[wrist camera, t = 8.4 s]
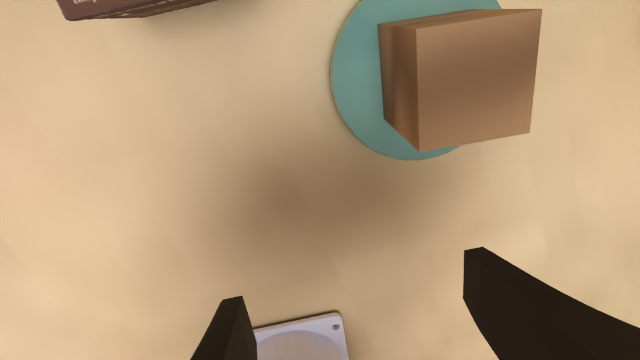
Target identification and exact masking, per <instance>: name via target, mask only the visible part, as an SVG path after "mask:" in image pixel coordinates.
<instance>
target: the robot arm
mask: <svg viewBox="0 0 640 360" xmlns="http://www.w3.org/2000/svg"><path fill="white" fill-rule="evenodd" d="M463 299H464V301H465V303H466V305H467V307H468V309H469V311H470V313H471V315H472V317H473V319H474V321H475V323H476V325H477V327H478V328H479V330H480V332H481V333H482V335H483V336H484V338H485V339H486V341H487V342H488V344H489V345H490V347H491V348H492V350H493V351H494V353H495V354H496V356H497V357H498V358H499V360H640V328H638V327H636V326H633V325H631V324H628V323H626V322H623V321H621V320H619V319H617V318H614V317H612V316H610V315H607V314H605V313H603V312H601V311H598V310H596V309H594V308H592V307H590V306H588V305H586V304H584V303H582V302H580V301H578V300H576V299H574V298H572V297H570V296H568V295H566V294H564V293H562V292H560V291H558V290H557V289H555V288H553V287H551V286H549V285H547V284H546V283H544V282H542V281H540V280H538V279H537V278H535V277H533V276H531V275H530V274H528V273H526V272H525V271H523V270H521V269H519V268H518V267H516V266H514V265H513V264H511V263H509V262H508V261H506V260H504V259H503V258H501V257H499V256H498V255H496V254H494V253H493V252H491V251H489V250H487V249H486V248H484V247H479V248H474V249H469V250H464V284H463ZM335 324H338V325H336V326H333V325H335ZM190 360H349V358H348V352H347V346H346V340H345V334H344V328H343V323H342V318H341V315H340V314H339V313H329V314H324V315H320V316H315V317H310V318H306V319H301V320H296V321H292V322H287V323H282V324H277V325H273V326H268V327H263V328H259V329H254V330H253V328H252V325H251V322H250V319H249V316H248V312H247V309H246V306H245V303H244V300H243V297H242V296H238V297H234V298H229V299H224V300H222V302H221V303H220V305H219V307H218V309H217V311H216V313H215V315H214V317H213V319H212V321H211V323H210V325H209V327H208V329H207V330H206V332H205V334H204V336H203V338H202V340H201V342H200V343H199V345H198V347H197V349H196V350H195V352H194V354H193V356H192V358H191V359H190Z"/></svg>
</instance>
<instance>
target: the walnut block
mask: <svg viewBox="0 0 640 360" xmlns="http://www.w3.org/2000/svg"><path fill="white" fill-rule="evenodd" d="M541 16H542V9H470V10H463V11H457V12H451V13H444V14H438V15H432V16H425V17H419V18H413V19H406V20H400V21H394V22H387V23H381V24H377V27H378V42H379V57H380V71H381V86H382V101H383V115H384V120H385V121H387V122H388V123H389V124H390V125H391V126H392V127H393V128H394V129H395V130H396V131H397V132H398V133H399V134H400V135H401V136H403V137H404V138H405V139H406V140H407V141H408V142H409V143H410V144H411V145H412V146H413V147H414V148H415V149H416V150H417V151H419V152H425V151H430V150H436V149H441V148H447V147H452V146H458V145H464V144H469V143H475V142H480V141H486V140H492V139H497V138H503V137H508V136H514V135H520V134H525V133H530V123H531V113H532V104H533V94H534V84H535V74H536V64H537V55H538V45H539V35H540V25H541Z"/></svg>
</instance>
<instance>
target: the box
mask: <svg viewBox="0 0 640 360" xmlns="http://www.w3.org/2000/svg"><path fill="white" fill-rule="evenodd" d="M56 1H57V3H58V5H59V7H60V9H61V11H62V14H63V16H64V18H65V19H66V20H69V21H79V20H84V19H105V18H135V17H136V18H137V17H140V18H142V17H148V16H152V15H156V14H161V13H164V12H169V11H173V10H179V9H183V8H188V7H191V6H197V5H201V4H204V3H207V2H212V1H216V0H56Z"/></svg>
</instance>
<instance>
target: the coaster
mask: <svg viewBox="0 0 640 360" xmlns="http://www.w3.org/2000/svg"><path fill="white" fill-rule="evenodd" d="M470 9H502V8H501V7H500V5H499V3H498V2H497V0H360V1H359V2H358V3H357V4H356V5H355V6H354V8H353V9H352V10H351V12H350V13H349V14H348V16H347V17H346V19H345V21H344V22H343V24H342V26H341V28H340V30H339V32H338V34H337V37H336V39H335V43H334V46H333V49H332V54H331V60H330V86H331V91H332V95H333V99H334V101H335V104H336V107H337V109H338V111H339V113H340V115H341V117H342V118H343V120H344V121H345V123H346V124H347V125H348V127H349V128H350V130H351V131H352V133H353V134H354V135H355V136H356V137H357V138H358V139H359V140H360V141H361V142H362V143H364V144H365V145H366V146H367V147H369V148H371V149H372V150H374V151H376V152H377V153H380V154H382V155H385V156H387V157H391V158H395V159H402V160H422V159H428V158H432V157H436V156H439V155H442V154H445V153H447V152H450V151H451V150H453V149H455V148H457V147H459V146H460V145H458V146H452V147H447V148H441V149H436V150H430V151H425V152H419V151H417V150H416V149H415V148H414V147H413V146H412V145H411V144H410V143H409V142H408V141H407V140H406V139H405V138H404V137H403V136H401V135H400V134H399V133H398V132H397V131H396V130H395V129H394V128H393V127H392V126H391V125H390V124H389V123H388V122H387V121H385V120H384V115H383V101H382V86H381V71H380V57H379V42H378V27H377V24H381V23H387V22H394V21H400V20H406V19H413V18H419V17H425V16H432V15H438V14H444V13H451V12H457V11H463V10H470Z"/></svg>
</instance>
